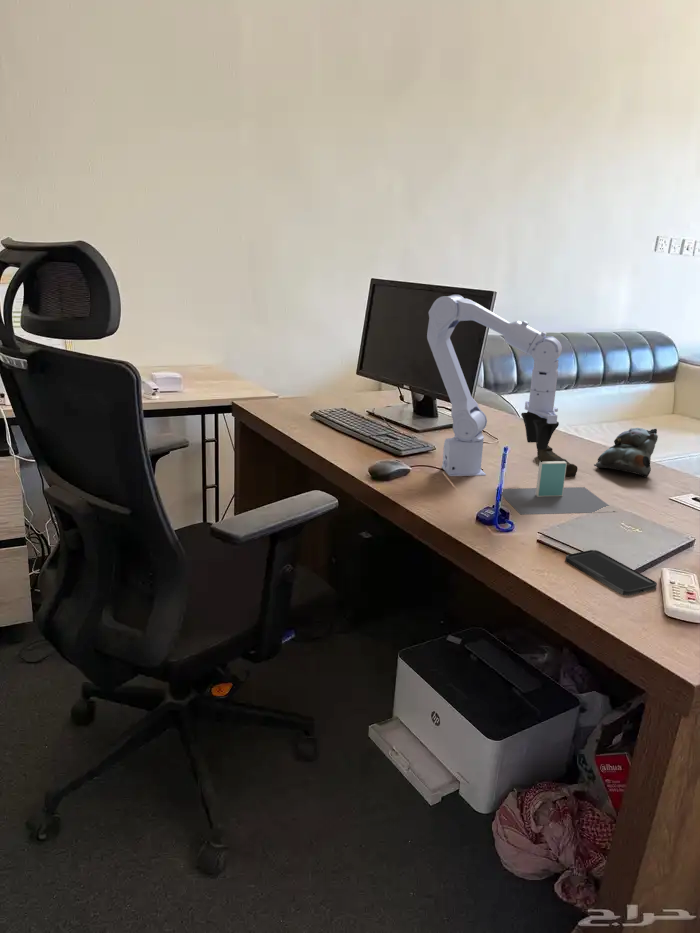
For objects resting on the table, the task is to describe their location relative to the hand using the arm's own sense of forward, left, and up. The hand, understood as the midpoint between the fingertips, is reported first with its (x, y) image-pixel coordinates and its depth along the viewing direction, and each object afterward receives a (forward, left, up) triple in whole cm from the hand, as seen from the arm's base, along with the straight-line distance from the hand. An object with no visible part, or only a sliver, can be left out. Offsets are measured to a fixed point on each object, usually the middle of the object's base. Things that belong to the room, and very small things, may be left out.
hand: (536, 445), depth 162 cm
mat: (0, -13, -9) cm, 16 cm away
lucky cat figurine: (+28, +7, -10) cm, 30 cm away
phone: (-5, -48, -10) cm, 49 cm away
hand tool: (+10, +12, -10) cm, 18 cm away
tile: (0, -10, -9) cm, 13 cm away
